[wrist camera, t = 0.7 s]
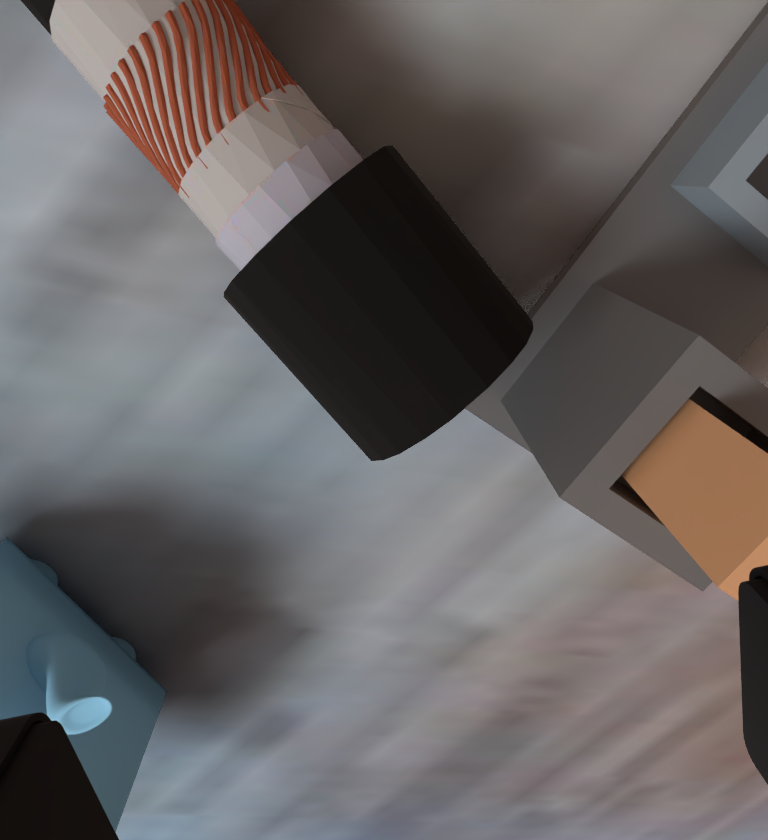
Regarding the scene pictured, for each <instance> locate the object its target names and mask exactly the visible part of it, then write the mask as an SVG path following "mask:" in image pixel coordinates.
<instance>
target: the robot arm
mask: <svg viewBox="0 0 768 840" xmlns="http://www.w3.org/2000/svg"><path fill="white" fill-rule="evenodd" d="M738 598H739V626H740V653H741V681H742V709H743V734H744V740H745V744H746V747H747V750H748V753H749V755H750V757H751V759H752V761H753V763H754V764H755V766H756V768H757V769H758V771H759V772H760V774H761V775H762V777H763V778H764V780H765V781H766V783H767V784H768V565H765V566H760V567H755V568H753V569H752V570H751V572H750V574H749V581H744V582H741V583H740V585H739V589H738ZM0 840H119V839H118V837H117V835H116V833H115V831H114V829H113V827H112V825H111V823H110V821H109V819H108V817H107V815H106V813H105V811H104V809H103V807H102V805H101V803H100V801H99V799H98V797H97V795H96V793H95V791H94V788H93V786H92V784H91V782H90V780H89V778H88V776H87V774H86V772H85V770H84V768H83V766H82V764H81V762H80V760H79V758H78V756H77V754H76V752H75V750H74V748H73V746H72V744H71V742H70V740H69V738H68V736H67V734H66V732H65V730H64V728H63V726H62V725H61V723H59V722H58V721H51V720H50V718H49V717H48V716H47V715H46V714H44V713H43V712H37V713H32V714H27V715H22V716H17V717H12V718H7V719H2V720H0Z"/></svg>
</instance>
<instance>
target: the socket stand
mask: <svg viewBox="0 0 768 840" xmlns="http://www.w3.org/2000/svg"><path fill="white" fill-rule="evenodd" d="M528 316H529V318H530V319H531V320H532V321H533V332H532V334H531V336H530V338H529V340H528V342H527V344H526V346H525V347H524V348H523V350H522V351H521V352H520V353H519V355H518V356H517V357H516V358H515V360H514V361H513V362H512V364H511V365H510V366H509V367H508V368H507V369H506V370H505V371H504V372H503V373H502V374H501V375H500V376H499V377H498V378H497V379H496V380H495V381H494V382H493V383H492V385H491V386H490V387H489V388H488V389H486V390H485V391H484V392H483V393H482V394H481V395H479V396H478V397H477V398H476V399H475V400H474V401H473V402H471V403H470V404H469V405H468V406H467V407H466V408H465V409H467V410H468V411H470V412H471V413H473V414H474V415H476V416H477V417H479V418H480V419H482V420H483V421H485V422H486V423H488V424H489V425H491V426H492V427H494V428H495V429H497V430H498V431H500V432H501V433H503V434H504V435H506V436H507V437H509V438H510V439H512V440H513V441H515V442H516V443H518V444H519V445H521V446H522V447H524V448H525V449H527V450H528V451H530V452H531V453H533V455H534V456H535V458H536V460H537V461H538V463H539V464H540V466H541V468H542V469H543V471H544V473H545V474H546V476H547V478H548V479H549V481H550V483H551V484H552V486H553V487H554V489H555V491H556V492H557V494H558V496H559V497H560V498H561V499H563V500H564V501H566V502H567V503H569V504H570V505H572V506H573V507H575V508H576V509H578V510H579V511H581V512H583V513H584V514H586V515H587V516H589V517H590V518H592V519H593V520H595V521H596V522H598V523H599V524H601V525H602V526H604V527H605V528H607V529H608V530H610V531H611V532H613V533H615V534H616V535H618V536H619V537H621V538H622V539H624V540H625V541H627V542H628V543H630V544H631V545H633V546H634V547H636V548H637V549H639V550H640V551H642V552H643V553H645V554H646V555H648V556H650V557H651V558H653V559H654V560H656V561H657V562H659V563H660V564H662V565H663V566H665V567H666V568H668V569H669V570H671V571H672V572H674V573H675V574H677V575H678V576H680V577H682V578H683V579H685V580H686V581H688V582H689V583H691V584H692V585H694V586H695V587H697V588H698V589H700V590H701V591H704V590H705V589H706V588H707V587H708V586H709V584H710V583H711V582H712V580H711V579H710V578H709V577H708V575H707V574H706V573H705V572H704V571H703V570H702V568H701V567H700V566H699V565H698V564H697V563H696V561H695V560H694V559H693V558H692V557H691V556H690V554H689V553H688V552H687V551H686V550H685V549H684V547H683V546H682V545H681V544H680V543H679V542H678V540H677V539H676V538H675V537H674V536H673V535H672V533H671V532H670V531H669V530H668V529H667V528H666V526H665V525H664V524H663V523H662V522H661V521H660V519H659V518H658V517H657V516H656V515H655V514H654V512H653V511H652V510H651V509H650V508H649V507H648V505H647V504H646V503H645V502H644V501H643V500H642V498H641V497H640V496H639V495H638V494H637V493H636V491H635V490H634V489H633V488H632V487H631V486H630V484H629V483H628V482H627V481H626V480H625V479H624V477H623V476H622V473H623V472H624V471H625V470H626V469H627V468H628V467H629V466H630V464H631V463H632V462H633V461H634V460H635V459H636V458H637V456H638V455H639V454H640V453H641V452H642V451H643V450H644V448H645V447H646V446H647V445H648V444H649V443H650V442H651V441H652V439H653V438H654V437H655V436H656V435H657V434H658V433H659V431H660V430H661V429H662V428H663V427H664V426H665V425H666V424H667V422H668V421H669V420H670V419H671V418H672V417H673V416H674V414H675V413H676V412H677V411H678V410H679V409H680V408H681V407H682V405H683V404H684V403H685V402H686V401H687V400H688V399H690V400H692V401H693V402H694V403H696V404H697V405H699V406H700V407H702V408H703V409H704V410H706V411H707V412H709V413H710V414H712V415H713V416H715V417H716V418H717V419H719V420H720V421H722V422H723V423H725V424H726V425H727V426H729V427H730V428H732V429H733V430H735V431H736V432H737V433H739V434H740V435H742V436H743V437H745V438H746V439H747V440H749V441H750V442H752V443H753V444H755V445H756V446H757V447H759V448H760V449H762V450H763V451H765V452H766V453H768V388H767V387H766V386H764V385H763V384H762V383H760V382H759V381H758V380H757V379H755V378H754V377H753V376H751V375H750V374H749V373H747V372H746V371H745V370H744V369H742V368H741V367H740V366H738V365H737V364H736V363H735V361H736V360H737V359H738V357H739V356H740V355H741V354H742V353H743V352H744V351H745V350H746V348H747V347H748V346H749V345H750V344H751V343H752V342H753V341H754V339H755V338H756V337H757V336H758V335H759V334H760V333H761V332H762V330H763V329H764V328H765V327H766V326H767V325H768V3H767V4H766V5H765V6H764V8H763V9H762V10H761V12H760V13H759V14H758V16H757V17H756V18H755V20H754V21H753V22H752V23H751V25H750V26H749V27H748V29H747V30H746V31H745V33H744V34H743V35H742V36H741V38H740V39H739V40H738V42H737V43H736V44H735V46H734V47H733V48H732V49H731V51H730V52H729V53H728V55H727V56H726V57H725V59H724V60H723V61H722V62H721V64H720V65H719V66H718V68H717V69H716V70H715V72H714V73H713V74H712V75H711V77H710V78H709V79H708V81H707V82H706V83H705V85H704V86H703V87H702V88H701V90H700V91H699V92H698V94H697V95H696V96H695V98H694V99H693V100H692V101H691V103H690V104H689V105H688V107H687V108H686V109H685V111H684V112H683V113H682V114H681V116H680V117H679V118H678V120H677V121H676V122H675V124H674V125H673V126H672V128H671V129H670V130H669V131H668V133H667V134H666V135H665V137H664V138H663V139H662V141H661V142H660V143H659V144H658V146H657V147H656V148H655V150H654V151H653V152H652V154H651V155H650V156H649V157H648V159H647V160H646V161H645V163H644V164H643V165H642V167H641V168H640V169H639V170H638V172H637V173H636V174H635V176H634V177H633V178H632V180H631V181H630V182H629V183H628V185H627V186H626V187H625V189H624V190H623V191H622V193H621V194H620V195H619V196H618V198H617V199H616V200H615V202H614V203H613V204H612V206H611V207H610V208H609V209H608V211H607V212H606V213H605V215H604V216H603V217H602V219H601V220H600V221H599V223H598V224H597V225H596V226H595V228H594V229H593V230H592V232H591V233H590V234H589V236H588V237H587V238H586V239H585V241H584V242H583V243H582V245H581V246H580V247H579V249H578V250H577V251H576V252H575V254H574V255H573V256H572V258H571V259H570V260H569V262H568V263H567V264H566V265H565V267H564V268H563V269H562V271H561V272H560V273H559V275H558V276H557V277H556V278H555V280H554V281H553V282H552V284H551V285H550V286H549V288H548V289H547V290H546V291H545V293H544V294H543V295H542V297H541V298H540V299H539V301H538V302H537V303H536V304H535V306H534V307H533V308H532V310H531V311H530V312H529V314H528Z"/></svg>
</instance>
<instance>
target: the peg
mask: <svg viewBox="0 0 768 840" xmlns="http://www.w3.org/2000/svg"><path fill="white" fill-rule="evenodd" d="M622 476H623V477H624V479H625V480H626V481H627V482H628V483H629V484H630V486H631V487H632V488H633V489H634V490H635V491H636V493H637V494H638V495H639V496H640V497H641V498H642V500H643V501H644V502H645V503H646V504H647V505H648V507H649V508H650V509H651V510H652V511H653V512H654V514H655V515H656V516H657V517H658V518H659V519H660V521H661V522H662V523H663V524H664V525H665V526H666V528H667V529H668V530H669V531H670V532H671V533H672V535H673V536H674V537H675V538H676V539H677V540H678V542H679V543H680V544H681V545H682V546H683V547H684V549H685V550H686V551H687V552H688V553H689V554H690V556H691V557H692V558H693V559H694V560H695V561H696V563H697V564H698V565H699V566H700V567H701V568H702V570H703V571H704V572H705V573H706V574H707V575H708V577H709V578H710V579H711V580H712V581H713V582H714V584H715V585H716V586H717V587H718V588H720V589H721V590H723V591H724V592H726V593H727V594H729V595H730V596H732V597H733V598H735V599H736V600H738V601H739V598H738V589H739V585H740V583H741V582H744V581H749V574H750V572H751V570H752V569H753V568H755V567H760V566H765V565H768V453H766V452H765V451H763V450H762V449H760V448H759V447H757V446H756V445H755V444H753V443H752V442H750V441H749V440H747V439H746V438H745V437H743V436H742V435H740V434H739V433H737V432H736V431H735V430H733V429H732V428H730V427H729V426H727V425H726V424H725V423H723V422H722V421H720V420H719V419H717V418H716V417H715V416H713V415H712V414H710V413H709V412H707V411H706V410H704V409H703V408H702V407H700V406H699V405H697V404H696V403H694V402H693V401H692V400H690V399H688V400H687V401H686V402H685V403H684V404H683V405H682V407H681V408H680V409H679V410H678V411H677V412H676V413H675V414H674V416H673V417H672V418H671V419H670V420H669V421H668V422H667V424H666V425H665V426H664V427H663V428H662V429H661V430H660V431H659V433H658V434H657V435H656V436H655V437H654V438H653V439H652V441H651V442H650V443H649V444H648V445H647V446H646V447H645V448H644V450H643V451H642V452H641V453H640V454H639V455H638V456H637V458H636V459H635V460H634V461H633V462H632V463H631V464H630V466H629V467H628V468H627V469H626V470H625V471H624V472H623V473H622Z"/></svg>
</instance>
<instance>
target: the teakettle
mask: <svg viewBox="0 0 768 840" xmlns="http://www.w3.org/2000/svg"><path fill="white" fill-rule="evenodd" d="M166 692H167V691H166V690H165V689H164V688H163V687H162V686H161V685H160V684H159V683H158V682H157V681H156V680H155V679H154V678H153V677H152V676H151V675H150V674H149V673H148V672H147V671H146V670H145V669H144V668H143V667H141V666H140V665H139V664H138V663H137V662H136V653H135V650H134V648H133V647H132V646H131V644H129V643H128V642H127V641H125V640H123V639H121V638H118V637H110V636H109V635H108V634H107V633H106V632H105V631H104V630H103V629H102V628H101V627H100V626H99V625H98V624H97V623H96V622H95V621H94V620H93V619H92V618H91V617H90V616H88V615H87V614H86V613H85V612H84V611H83V610H82V609H81V608H80V607H79V606H78V605H77V604H76V603H75V602H74V601H73V600H72V599H71V598H70V597H69V596H68V595H67V594H66V593H64V592H63V591H62V590H61V589H60V588H59V587H58V578H57V575H56V573H55V572H54V570H53V569H52V568H51V567H50V566H48V565H47V564H45V563H44V562H41V561H38V560H32V559H29V558H28V557H27V556H26V555H25V554H24V553H23V552H22V551H21V550H20V549H18V548H17V547H16V546H15V545H14V544H13V543H12V542H11V541H10V540H9V539H8V538H6V539H4V540H3V541H1V542H0V720H2V719H7V718H12V717H17V716H22V715H27V714H32V713H37V712H43V713H44V714H46V715H47V716H48V717H49V718H50V720H51V721H58V722H59V723H61V725H62V726H63V728H64V730H65V732H66V734H67V736H68V738H69V740H70V742H71V744H72V746H73V748H74V750H75V752H76V754H77V756H78V758H79V760H80V762H81V764H82V766H83V768H84V770H85V772H86V774H87V776H88V778H89V780H90V782H91V784H92V786H93V788H94V791H95V793H96V795H97V797H98V799H99V801H100V803H101V805H102V807H103V809H104V811H105V813H106V815H107V817H108V819H109V821H110V823H111V825H112V827H113V829H114V831H115V832H116V829H117V826H118V823H119V821H120V818H121V815H122V812H123V810H124V807H125V804H126V802H127V799H128V796H129V793H130V791H131V788H132V785H133V782H134V780H135V777H136V774H137V772H138V769H139V766H140V763H141V761H142V758H143V755H144V752H145V750H146V747H147V744H148V742H149V739H150V736H151V733H152V731H153V728H154V725H155V722H156V720H157V717H158V714H159V712H160V709H161V706H162V703H163V701H164V698H165V695H166Z"/></svg>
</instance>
